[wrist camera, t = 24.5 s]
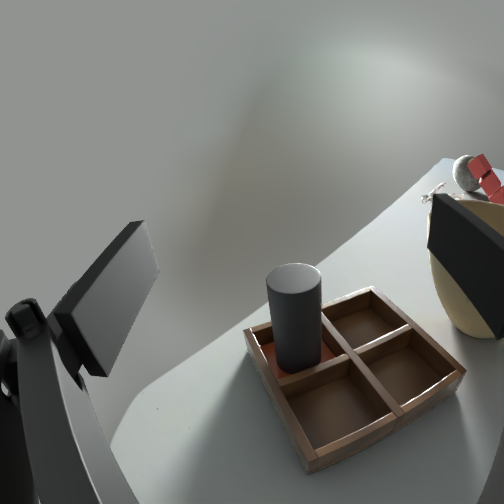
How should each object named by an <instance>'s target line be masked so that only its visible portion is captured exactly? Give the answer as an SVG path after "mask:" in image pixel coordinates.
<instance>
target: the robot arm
mask: <svg viewBox="0 0 504 504" xmlns="http://www.w3.org/2000/svg"><path fill="white" fill-rule="evenodd" d="M427 248H428V249H429V250H430V252H431V253H432V254H433V255H434V256H435V257H436V259H437V260H438V261H439V262H440V263H441V265H442V266H443V267H444V268H445V269H446V271H447V272H448V273H449V274H450V276H451V277H452V278H453V279H454V281H455V282H456V283H457V284H458V286H459V287H460V288H461V290H462V291H463V292H464V294H465V295H466V296H467V297H468V299H469V300H470V302H471V303H472V304H473V306H474V307H475V308H476V310H477V311H478V312H479V314H480V315H481V317H482V318H483V319H484V321H485V322H486V324H487V325H488V327H489V328H490V330H491V331H492V333H493V334H494V336H495V337H496V339H497V340H498V339H501V338H504V237H503V236H502V235H501V234H500V233H498V232H497V231H496V230H495V229H493V228H492V227H491V226H490V225H488V224H487V223H486V222H485V221H483V220H482V219H481V218H479V217H478V216H477V215H475V214H474V213H473V212H471V211H470V210H469V209H467V208H466V207H465V206H463V205H462V204H460V203H459V202H458V201H456V200H455V199H453V198H452V197H451V196H449V195H448V194H446V193H444V194H433V200H432V211H431V220H430V229H429V237H428V244H427ZM159 273H160V272H159V269H158V265H157V262H156V258H155V255H154V252H153V248H152V245H151V241H150V238H149V234H148V231H147V227H146V224H145V221H144V220H142V221H135V222H130V223H129V224H128V225H127V226H126V227H125V228H124V229H123V230H122V231H121V233H120V234H119V235H118V236H117V237H116V238H115V239H114V240H113V241H112V242H111V243H110V245H109V246H108V247H107V248H106V249H105V250H104V251H103V253H102V254H101V255H100V256H99V257H98V258H97V259H96V261H95V262H94V263H93V264H92V265H91V266H90V268H89V269H88V270H87V271H86V272H85V273H84V275H83V276H82V277H81V278H80V279H79V280H78V281H77V282H75V283H74V284H73V285H72V286H71V288H70V289H69V290H68V291H67V294H65V295H64V296H63V297H62V300H61V301H59V303H58V304H57V305H56V306H55V308H54V309H53V311H52V312H51V313H50V314H49V315H48V317H47V318H45V316H44V314H43V312H42V311H41V309H40V307H39V305H38V303H37V301H36V299H33V298H29V299H25V300H22V301H20V302H19V303H17V304H15V305H14V306H13V307H12V308H11V309H10V310H9V311H8V312H7V314H6V316H5V320H6V321H7V323H8V325H9V326H10V328H11V330H12V331H13V333H14V334H15V336H16V338H15V339H11V340H8V338H7V337H6V335H5V334H4V332H3V331H2V330H0V504H39V500H40V503H41V504H139V502H138V500H137V499H136V497H135V495H134V493H133V492H132V490H131V488H130V486H129V484H128V483H127V481H126V479H125V477H124V475H123V473H122V471H121V469H120V467H119V465H118V463H117V461H116V459H115V457H114V455H113V453H112V451H111V448H110V446H109V444H108V442H107V440H106V437H105V435H104V433H103V430H102V428H101V426H100V423H99V421H98V418H97V416H96V413H95V411H94V408H93V405H92V403H91V400H90V397H89V394H88V391H87V389H86V386H85V383H84V380H83V378H82V376H81V375H80V373H79V372H78V371H79V369H80V367H81V365H82V364H83V365H84V367H85V368H86V370H87V371H88V373H89V374H90V375H91V376H100V377H108V376H109V374H110V372H111V369H112V367H113V365H114V363H115V360H116V358H117V356H118V354H119V352H120V350H121V348H122V345H123V344H124V342H125V339H126V337H127V335H128V333H129V331H130V329H131V326H132V325H133V323H134V321H135V319H136V317H137V315H138V313H139V311H140V309H141V307H142V305H143V303H144V301H145V299H146V297H147V295H148V293H149V291H150V289H151V288H152V286H153V284H154V282H155V280H156V278H157V276H158V274H159ZM1 382H2V383H3V384H4V386H5V387H6V388H7V389H8V395H7V396H6V395H5V394H4V393H3V391H2V389H1ZM38 496H39V499H38ZM477 504H504V428H503V432H502V436H501V439H500V443H499V446H498V449H497V453H496V456H495V459H494V462H493V465H492V468H491V470H490V473H489V476H488V479H487V481H486V484H485V486H484V489H483V491H482V494H481V496H480V498H479V501H478V503H477Z"/></svg>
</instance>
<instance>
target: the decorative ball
mask: <svg viewBox="0 0 504 504" xmlns="http://www.w3.org/2000/svg"><path fill="white" fill-rule="evenodd" d="M473 157H474V156H471V155H465V156H462V157H460V158H459V159H458V160H457V161H456V162H455V164H454V167H453V176H454V179H455V182H456V183H457V185H458V186H459V187H460V188H462V189H463V190H465V191H476V190H478V189H479V188H480V187H481V186H480V184H479V181H480V178H481V177H480V178H478V179H475V178H474V176H473V174H472V173H471V171H470V170H469V168H468V167H467V164H469V163H468V161H469V160H470V159H471V158H473ZM474 158H476V157H474Z"/></svg>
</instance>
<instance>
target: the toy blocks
mask: <svg viewBox="0 0 504 504" xmlns="http://www.w3.org/2000/svg"><path fill="white" fill-rule="evenodd" d="M468 163H469V164H467V167H468V168H469V170H470V171H471V173H472V174H473V176H474V178H475V179H478V178H480V177H481V178H480V181H479V184H480V186H481V187H482V188H483V190H484V191H485V193H486V194H487V196H488V197H489V196H490V197H489V198H488V199H489V201H490V202H492V203H497V204H500V205H504V186H502V187H501V182H500V180H499V179H498V177H497V176H496V175H495V173H494V172H493V170H492V167H491V166H490V164H489V162H488V161H487V159H486V158H485V156H484V155H483V154H481V155H479V156H477V157H476V158H474V157H473V158H471V159H470V160H469V161H468ZM500 187H501V188H500Z"/></svg>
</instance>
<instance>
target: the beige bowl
mask: <svg viewBox="0 0 504 504" xmlns="http://www.w3.org/2000/svg"><path fill="white" fill-rule="evenodd" d="M456 201H458V202H459V203H460V204H462V205H463V206H465V207H466V208H467V209H469V210H470V211H471V212H473V213H474V214H475V215H477V216H478V217H479V218H481V219H482V220H483V221H485V222H486V223H487V224H488V225H490V226H491V227H492V228H493V229H495V230H496V231H497V232H498V233H500V234H501V235H502V236H503V237H504V205H500V204H497V203H492V202H486V201H480V200H456ZM431 211H432V210H431ZM431 211H430V212H429V215H428V237H429V229H430V220H431ZM428 251H429V260H430V267H431V272H432V276H433V281H434V284H435V288H436V291H437V293H438V296H439V299H440V301H441V303H442V305H443V307H444V309H445V311H446V313H447V315H448V317H449V318H450V320H451V321H452V323H453V324H454V325H455V326H456V327H457V328H458V329H459V330H461V331H462V332H463V333H465V334H467V335H469V336H472V337H476V338H493V337H495V336H494V334H493V333H492V331H491V330H490V328H489V327H488V325H487V324H486V322H485V321H484V319H483V318H482V317H481V315H480V314H479V312H478V311H477V310H476V308H475V307H474V306H473V304H472V303H471V302H470V300H469V299H468V297H467V296H466V295H465V294H464V292H463V291H462V290H461V288H460V287H459V286H458V284H457V283H456V282H455V281H454V279H453V278H452V277H451V276H450V274H449V273H448V272H447V271H446V269H445V268H444V267H443V266H442V265H441V263H440V262H439V261H438V260H437V259H436V257H435V256H434V255H433V254H432V253H431V252H430V250H429V249H428Z"/></svg>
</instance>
